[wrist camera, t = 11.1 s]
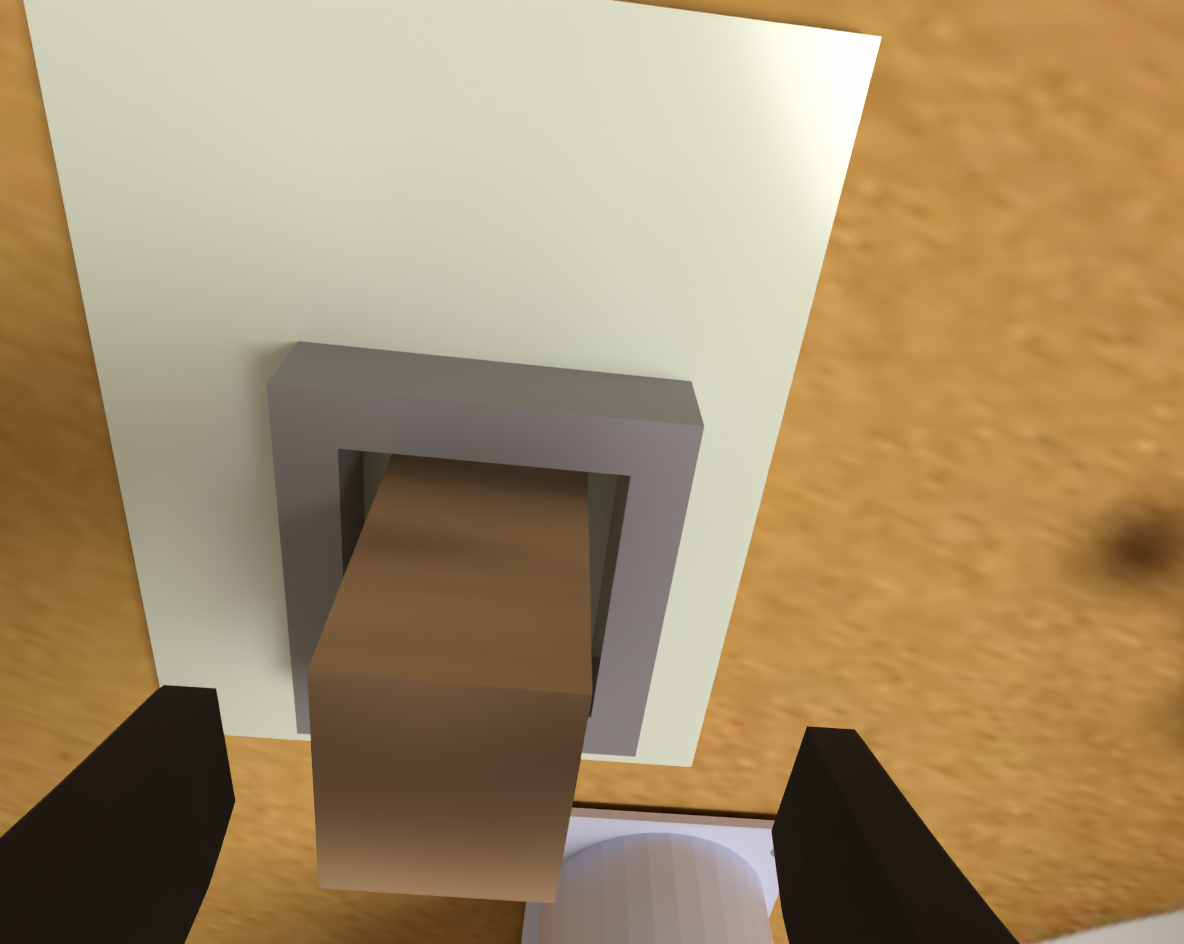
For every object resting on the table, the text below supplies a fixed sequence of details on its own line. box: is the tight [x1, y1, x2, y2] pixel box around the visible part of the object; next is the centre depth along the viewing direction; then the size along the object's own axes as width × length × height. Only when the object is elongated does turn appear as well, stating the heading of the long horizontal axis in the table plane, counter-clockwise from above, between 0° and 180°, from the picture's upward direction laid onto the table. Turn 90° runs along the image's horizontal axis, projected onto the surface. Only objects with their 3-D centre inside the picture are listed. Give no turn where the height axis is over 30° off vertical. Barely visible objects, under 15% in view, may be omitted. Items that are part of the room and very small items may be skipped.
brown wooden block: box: [307, 454, 592, 903], centre depth 16 cm, size 5×4×7 cm
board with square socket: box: [23, 0, 881, 767], centre depth 18 cm, size 18×14×3 cm
